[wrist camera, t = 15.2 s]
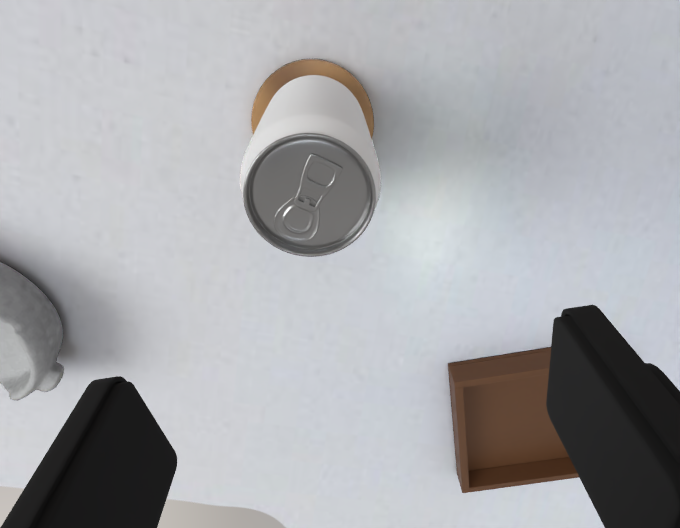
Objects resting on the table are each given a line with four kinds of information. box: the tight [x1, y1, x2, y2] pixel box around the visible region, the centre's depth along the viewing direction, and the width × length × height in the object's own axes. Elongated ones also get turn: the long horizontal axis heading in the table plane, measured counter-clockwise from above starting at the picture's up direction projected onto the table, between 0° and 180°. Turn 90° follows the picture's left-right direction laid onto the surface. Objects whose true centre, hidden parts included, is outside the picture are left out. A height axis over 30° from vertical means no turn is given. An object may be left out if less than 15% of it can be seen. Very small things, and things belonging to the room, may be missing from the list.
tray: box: [448, 347, 579, 493], centre depth 44 cm, size 18×14×2 cm
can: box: [240, 75, 381, 257], centre depth 24 cm, size 6×6×12 cm
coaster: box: [251, 59, 374, 139], centre depth 29 cm, size 8×8×1 cm
